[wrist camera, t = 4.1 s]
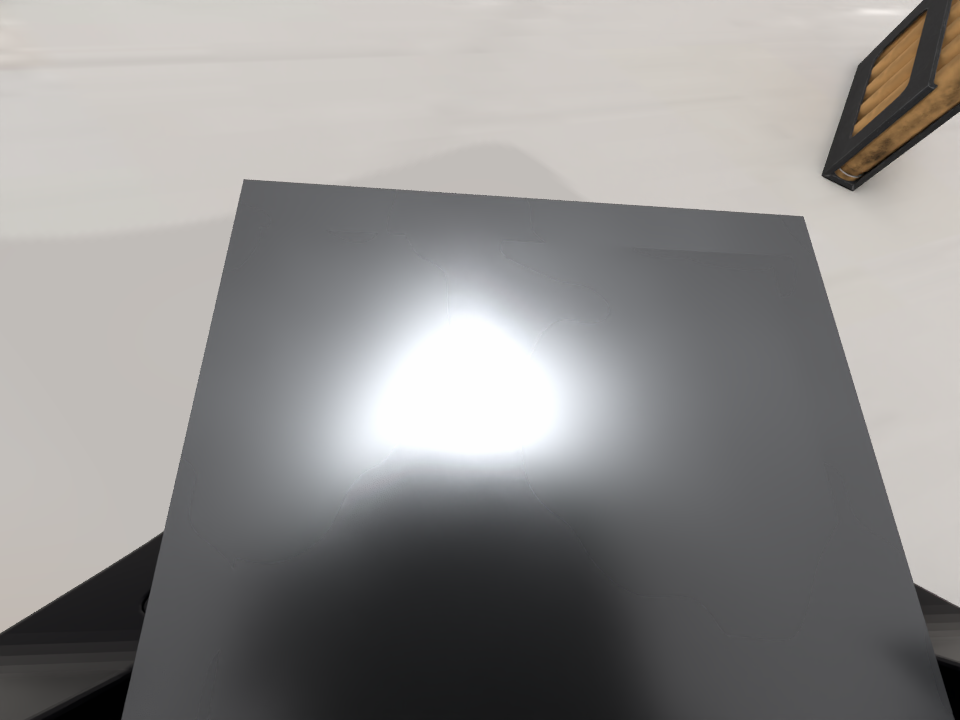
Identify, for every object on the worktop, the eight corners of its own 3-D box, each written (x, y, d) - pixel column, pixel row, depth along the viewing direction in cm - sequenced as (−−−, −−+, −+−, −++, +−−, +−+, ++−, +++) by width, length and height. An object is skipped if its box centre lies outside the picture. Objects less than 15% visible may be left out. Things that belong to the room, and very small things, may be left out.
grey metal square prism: (541, 572, 14) (1034, 984, 2) (383, 575, 14) (32, 1111, 2) (535, 417, 16) (802, 216, 4) (394, 415, 15) (243, 178, 4)
